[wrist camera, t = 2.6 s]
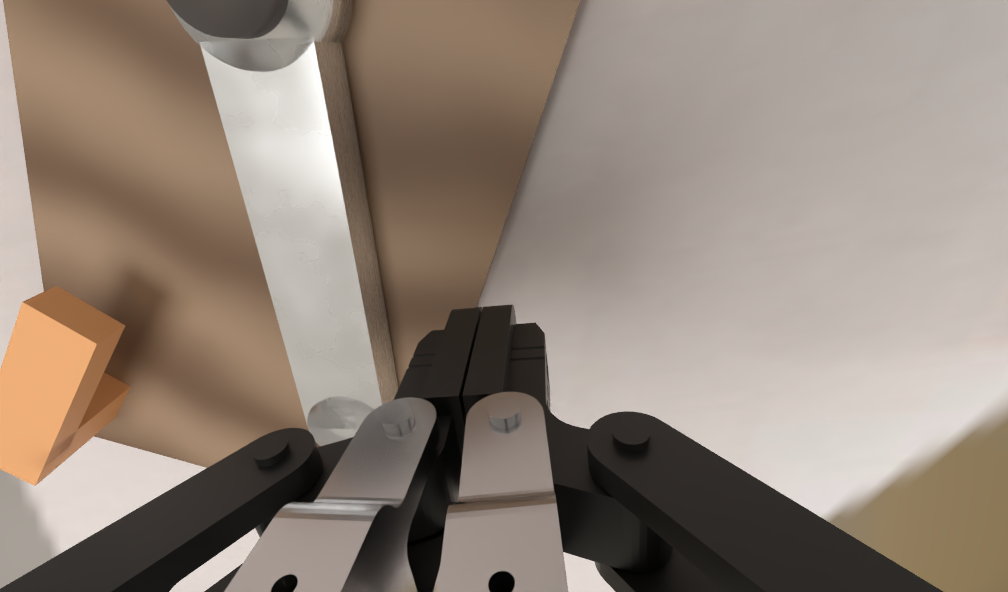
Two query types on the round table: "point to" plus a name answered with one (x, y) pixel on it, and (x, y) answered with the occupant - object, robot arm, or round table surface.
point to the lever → (308, 207)
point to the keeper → (56, 383)
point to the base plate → (218, 198)
